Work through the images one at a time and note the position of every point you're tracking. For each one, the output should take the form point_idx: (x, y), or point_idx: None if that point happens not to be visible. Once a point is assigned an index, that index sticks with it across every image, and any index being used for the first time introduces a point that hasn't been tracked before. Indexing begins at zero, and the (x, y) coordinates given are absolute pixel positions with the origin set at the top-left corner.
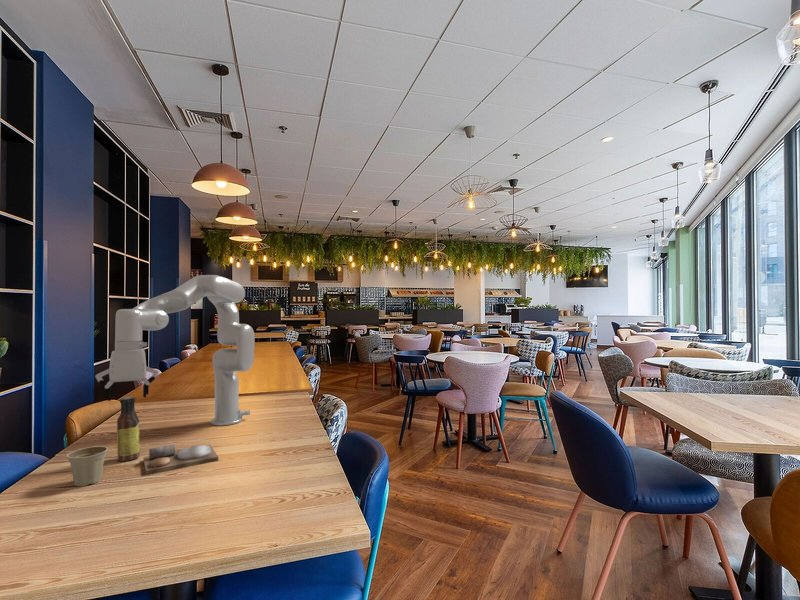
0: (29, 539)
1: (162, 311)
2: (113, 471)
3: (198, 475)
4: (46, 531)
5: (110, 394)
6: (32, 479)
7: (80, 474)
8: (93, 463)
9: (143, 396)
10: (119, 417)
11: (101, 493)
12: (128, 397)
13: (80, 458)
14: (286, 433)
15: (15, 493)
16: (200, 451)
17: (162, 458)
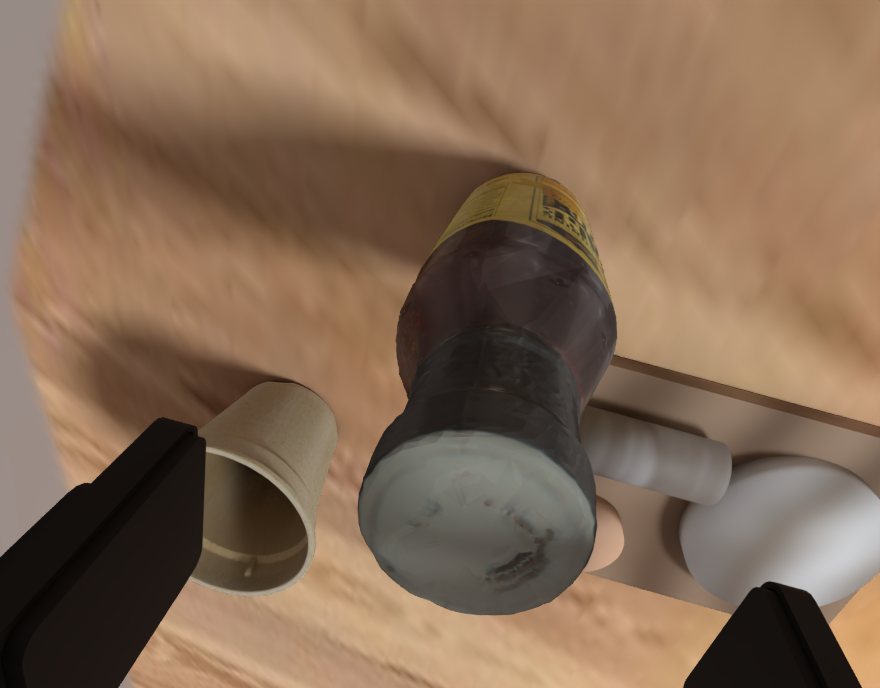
0: (162, 664)
1: None
2: (399, 381)
3: (637, 673)
4: (190, 659)
5: (128, 657)
6: (62, 177)
7: (236, 494)
8: (265, 545)
9: (695, 683)
10: (405, 373)
11: (322, 562)
12: (508, 484)
13: (192, 578)
14: None
15: (42, 323)
16: (792, 579)
17: (598, 524)
